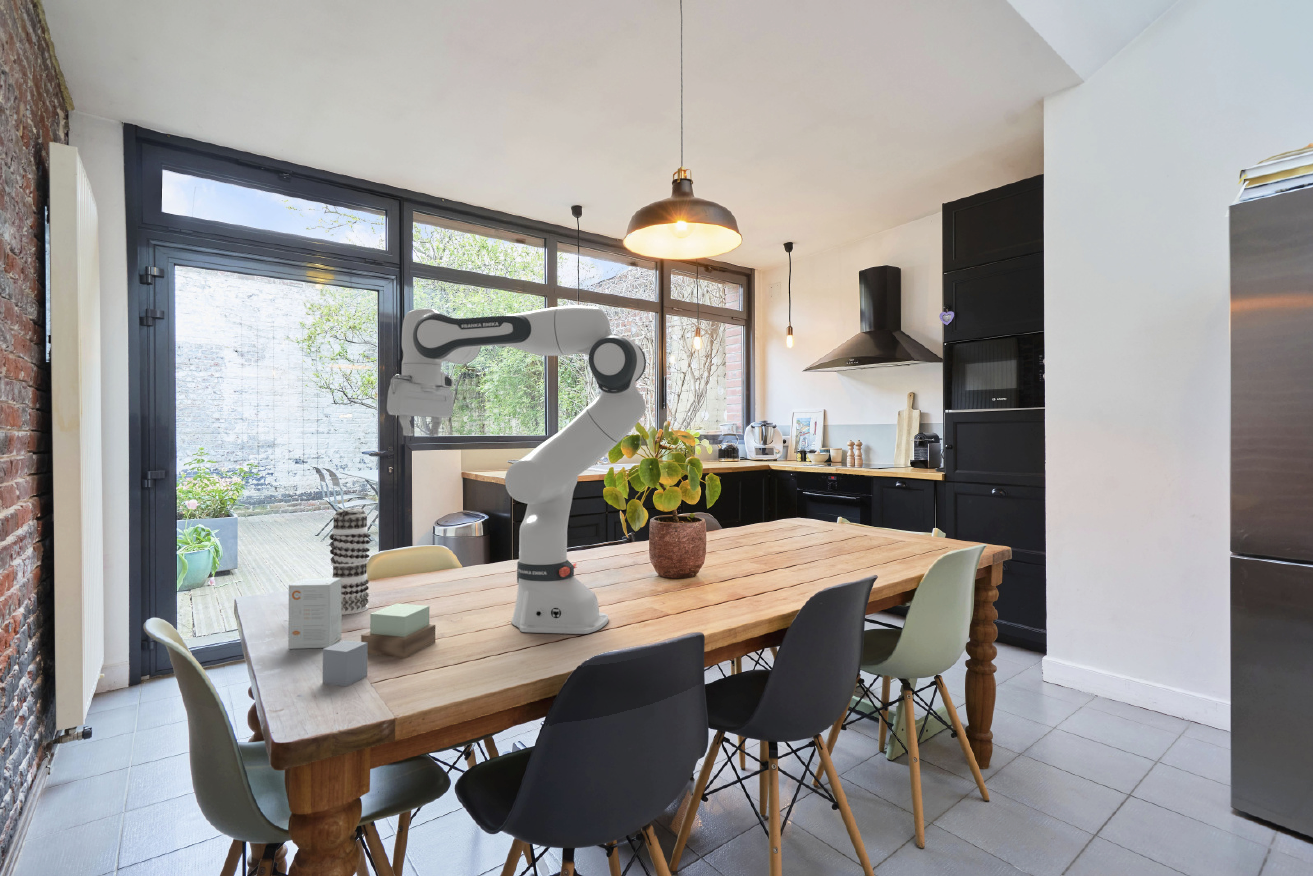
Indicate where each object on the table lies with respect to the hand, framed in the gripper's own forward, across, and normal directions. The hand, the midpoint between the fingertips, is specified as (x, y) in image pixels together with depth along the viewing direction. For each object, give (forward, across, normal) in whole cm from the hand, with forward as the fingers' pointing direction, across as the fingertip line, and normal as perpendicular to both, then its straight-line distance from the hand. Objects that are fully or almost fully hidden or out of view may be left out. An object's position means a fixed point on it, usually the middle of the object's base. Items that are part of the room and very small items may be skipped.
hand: (421, 435), depth 147 cm
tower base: (+44, -19, -9) cm, 49 cm away
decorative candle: (+43, +1, +22) cm, 48 cm away
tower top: (+40, -18, -9) cm, 45 cm away
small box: (+44, -22, +9) cm, 50 cm away
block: (+44, -36, -11) cm, 57 cm away
